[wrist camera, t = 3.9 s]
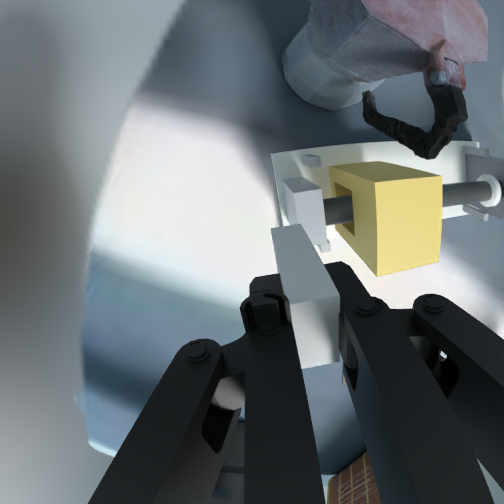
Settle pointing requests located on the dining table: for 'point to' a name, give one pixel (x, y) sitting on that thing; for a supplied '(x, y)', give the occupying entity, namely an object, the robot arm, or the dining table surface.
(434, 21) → the moka pot
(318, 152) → the linear slide rail
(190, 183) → the dining table surface
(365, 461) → the picnic basket
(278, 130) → the dining table surface
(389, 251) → the yellow block on rod
